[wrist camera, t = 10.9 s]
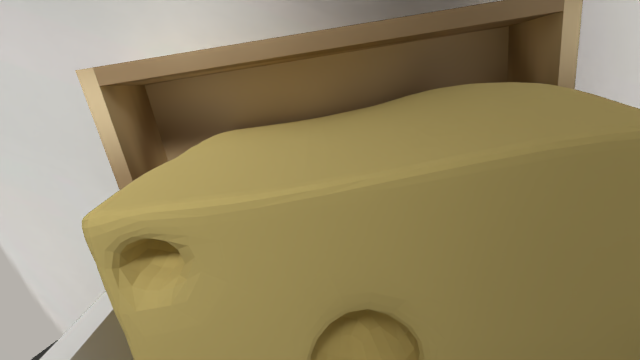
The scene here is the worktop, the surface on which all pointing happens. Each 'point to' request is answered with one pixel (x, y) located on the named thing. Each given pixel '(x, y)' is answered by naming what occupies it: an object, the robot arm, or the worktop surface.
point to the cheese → (389, 234)
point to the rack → (322, 75)
